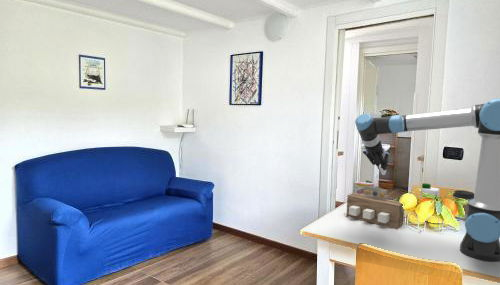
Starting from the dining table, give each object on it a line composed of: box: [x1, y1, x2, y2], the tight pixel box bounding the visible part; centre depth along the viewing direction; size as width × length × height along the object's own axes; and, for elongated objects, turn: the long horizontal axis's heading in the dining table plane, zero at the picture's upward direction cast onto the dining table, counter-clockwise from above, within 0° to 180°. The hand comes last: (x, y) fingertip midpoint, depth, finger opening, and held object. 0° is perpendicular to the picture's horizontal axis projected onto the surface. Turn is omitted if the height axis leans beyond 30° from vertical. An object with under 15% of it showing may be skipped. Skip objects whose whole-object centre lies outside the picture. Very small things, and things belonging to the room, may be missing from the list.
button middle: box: [363, 208, 375, 219], centre depth 185 cm, size 6×4×4 cm, turn 136°
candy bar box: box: [352, 181, 375, 195], centre depth 209 cm, size 11×5×16 cm, turn 65°
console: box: [345, 186, 405, 230], centre depth 188 cm, size 8×28×18 cm, turn 46°
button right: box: [378, 212, 390, 223], centre depth 179 cm, size 6×4×4 cm, turn 136°
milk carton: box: [419, 183, 441, 199], centre depth 191 cm, size 9×9×20 cm
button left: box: [349, 205, 361, 216], centre depth 190 cm, size 6×4×4 cm, turn 136°
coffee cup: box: [452, 189, 475, 221], centre depth 198 cm, size 11×11×15 cm
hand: (384, 173), depth 178 cm, fingers closed
